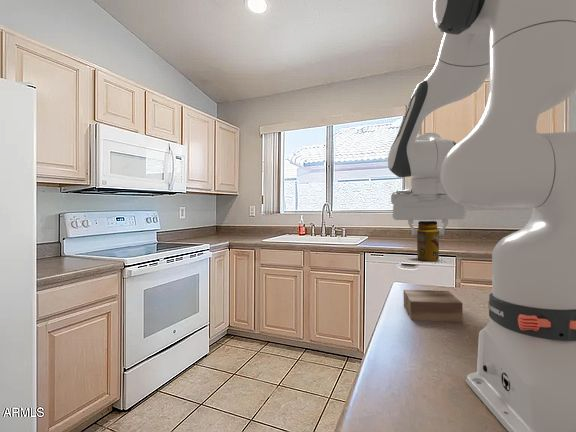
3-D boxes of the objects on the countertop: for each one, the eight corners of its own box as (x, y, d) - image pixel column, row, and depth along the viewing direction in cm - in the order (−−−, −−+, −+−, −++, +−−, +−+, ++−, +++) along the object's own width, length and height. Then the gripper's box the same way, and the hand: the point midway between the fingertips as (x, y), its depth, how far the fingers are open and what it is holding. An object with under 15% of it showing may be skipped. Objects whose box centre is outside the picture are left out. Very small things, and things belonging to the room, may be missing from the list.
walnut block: (462, 323, 80) (462, 303, 80) (411, 321, 82) (410, 301, 82) (448, 308, 92) (448, 290, 92) (403, 306, 94) (403, 289, 94)
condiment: (445, 261, 96) (444, 221, 96) (418, 263, 95) (417, 221, 95) (431, 258, 103) (430, 220, 103) (406, 259, 102) (405, 221, 102)
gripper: (391, 189, 98) (392, 235, 98) (466, 187, 93) (467, 235, 93) (390, 191, 104) (391, 234, 104) (461, 188, 99) (462, 234, 99)
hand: (427, 235), depth 99 cm, fingers closed on condiment, 6 cm apart
